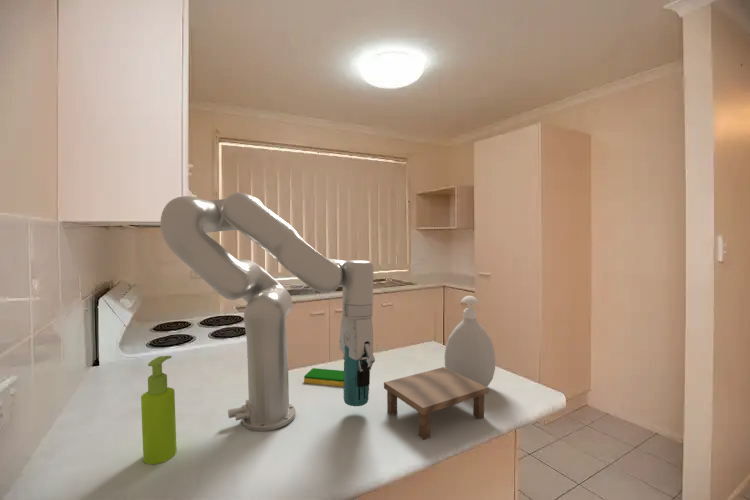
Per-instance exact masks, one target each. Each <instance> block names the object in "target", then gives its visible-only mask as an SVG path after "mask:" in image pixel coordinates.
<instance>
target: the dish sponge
mask: <svg viewBox="0 0 750 500" xmlns="http://www.w3.org/2000/svg"><path fill="white" fill-rule="evenodd" d="M303 377H304V378H303V383H305V384H317V385H324V386H325V385H326V386H336V387H344V370H337V369H327V368H326V369H325V368H311V369H310V370H309V371H308V372H307V373H305V375H303Z"/></svg>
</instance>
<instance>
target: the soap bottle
mask: <svg viewBox="0 0 750 500" xmlns="http://www.w3.org/2000/svg"><path fill="white" fill-rule="evenodd" d="M461 303H462V304H467V308H464V310H463V311H462V313H463V314H462V316H463V318H462V320H461V321H460V322H459V323H458V324H457V325H456V326H455V327H454V329H453V330H452V332H451V333H450V334H449V336H448V338H447V341H446V345H445V350H444V367H445V368H447V369H449V370H451V371H453V372H456V373H458V374H460V375H462V376H464V377H466V378H468V379H471V380H473V381H475V382H477V383H479V384H481V385H484V386H486V387H488V386H489V385H490V384H491V382H492V380H493V379H494V375H495V371H496V354H495V348H494V345H493V340H492V338H491V337H490V336H489V334H488V333H487V331H486V329H485V328H484V327H483V326H482V325H481V323H480V322H479V321H478V320H477V310H476V309H475V308H473V304H478V303H479V300H478V299H477V297H475V296H473V295H466V296H464V297H463V298H461Z"/></svg>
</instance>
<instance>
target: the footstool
mask: <svg viewBox="0 0 750 500" xmlns="http://www.w3.org/2000/svg"><path fill="white" fill-rule="evenodd" d="M383 388H384V389H385V391H386V393H387V395H386V397H387V398H386V399H387V400H386V402H387V403H386V404H387V409H386V410H387V413H388V414H390V415H394V414H397V413H398V399H399V400H400V401H402V402H403V403H405V404H406V405H407V406H410V407H411V408H412V409H414V410H415V411H417V412H418V437H419V438H420V439H422V440H427V439H429V438H431V413H433V412H436V411H439V410H443V409H445V408H448V407H452V406H454V405H457V404H460V403H464V402H466V401H469V400H472V399H473V403H472V404H473V405H472V406H473V407H472V408H473V410H472V411H473V412H472V413H473V417H475V418H477V419H478V420H480V419H483V418H485V395H488V394H489V387H488V386H487V387H486V386H484V385H481V384H479V383H477V382H475V381H473V380H471V379H468V378H466V377H464V376H462V375H460V374H458V373H456V372H453V371H451V370H449V369H447V368H445V366H444V367H438V368H435V369H431V370H428V371H423V372H419V373H415V374H412V375H407V376H404V377H400V378H396V379H393V380H389V381H384V382H383Z"/></svg>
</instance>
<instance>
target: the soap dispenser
mask: <svg viewBox="0 0 750 500" xmlns="http://www.w3.org/2000/svg"><path fill="white" fill-rule="evenodd" d="M171 358H172V355H159V356H157V357H155V358H154V359H152V360H150V362H148V364H147V365H148V367H151V368H152V374H151V375H149V376H148V377H147V391H146V392H144V393H142V394H141V396H140V405H141V409H140V410H141V426H142V427H141V429H142V431H141V432H142V454H143V458H142V459H143V462H144V463H145V464H147V465H157V464H162V463H164V462H167V461H169V460H170V459H172V458H173V457H175V455H176V454H177V429H176V427H177V425H176V424H177V423H176V398H175V397H176V395H175V392H176V391H175V389H174V388H173V387H169V386H168V375H167V374H166V373H164V372H163V363H164V362H165V361H167V360H170V359H171Z"/></svg>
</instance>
